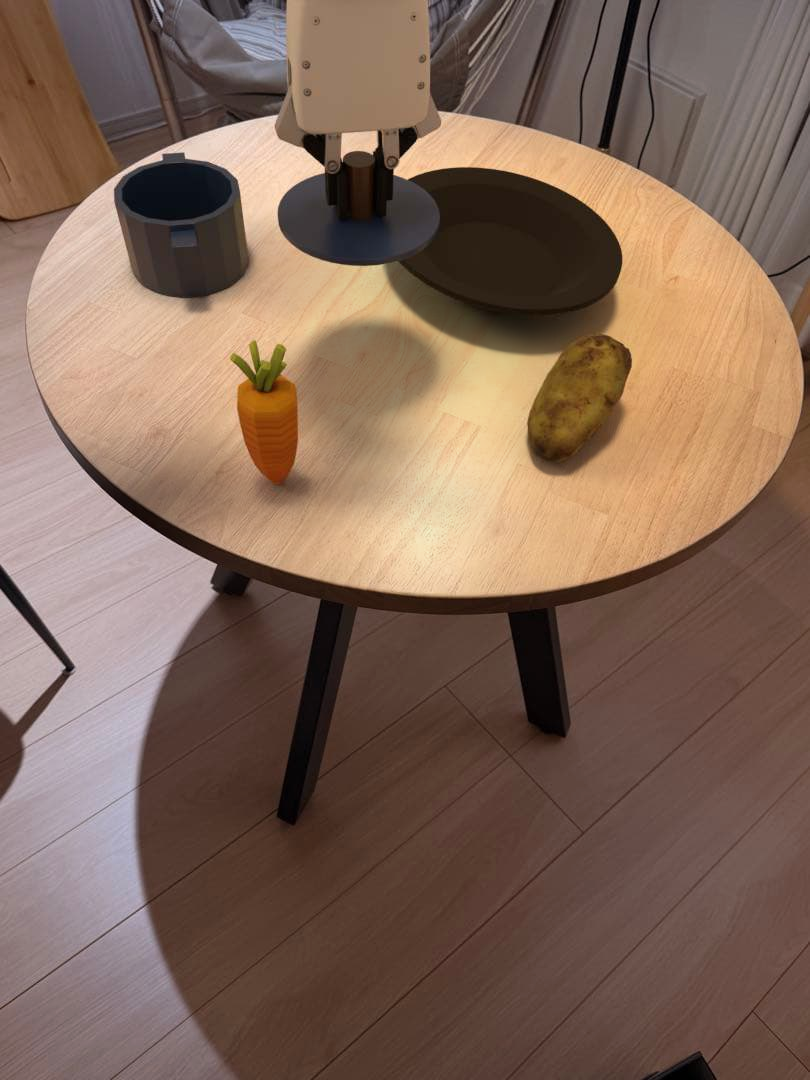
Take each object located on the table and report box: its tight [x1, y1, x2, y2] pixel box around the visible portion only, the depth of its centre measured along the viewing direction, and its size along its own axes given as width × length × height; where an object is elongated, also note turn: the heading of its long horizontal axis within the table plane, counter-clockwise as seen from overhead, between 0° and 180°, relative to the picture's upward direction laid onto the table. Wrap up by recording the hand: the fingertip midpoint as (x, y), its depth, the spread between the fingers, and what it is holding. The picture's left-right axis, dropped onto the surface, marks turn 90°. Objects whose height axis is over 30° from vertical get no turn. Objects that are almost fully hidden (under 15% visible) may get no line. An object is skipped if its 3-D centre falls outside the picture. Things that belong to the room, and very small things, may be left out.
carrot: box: [229, 340, 299, 485], centre depth 63 cm, size 5×5×15 cm
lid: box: [276, 150, 440, 267], centre depth 65 cm, size 14×14×6 cm
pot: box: [113, 152, 249, 298], centre depth 85 cm, size 13×18×8 cm
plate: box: [398, 166, 623, 316], centre depth 87 cm, size 28×24×6 cm
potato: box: [526, 333, 633, 463], centre depth 72 cm, size 8×13×8 cm, turn 131°
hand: (359, 207), depth 66 cm, fingers closed on lid, 2 cm apart
